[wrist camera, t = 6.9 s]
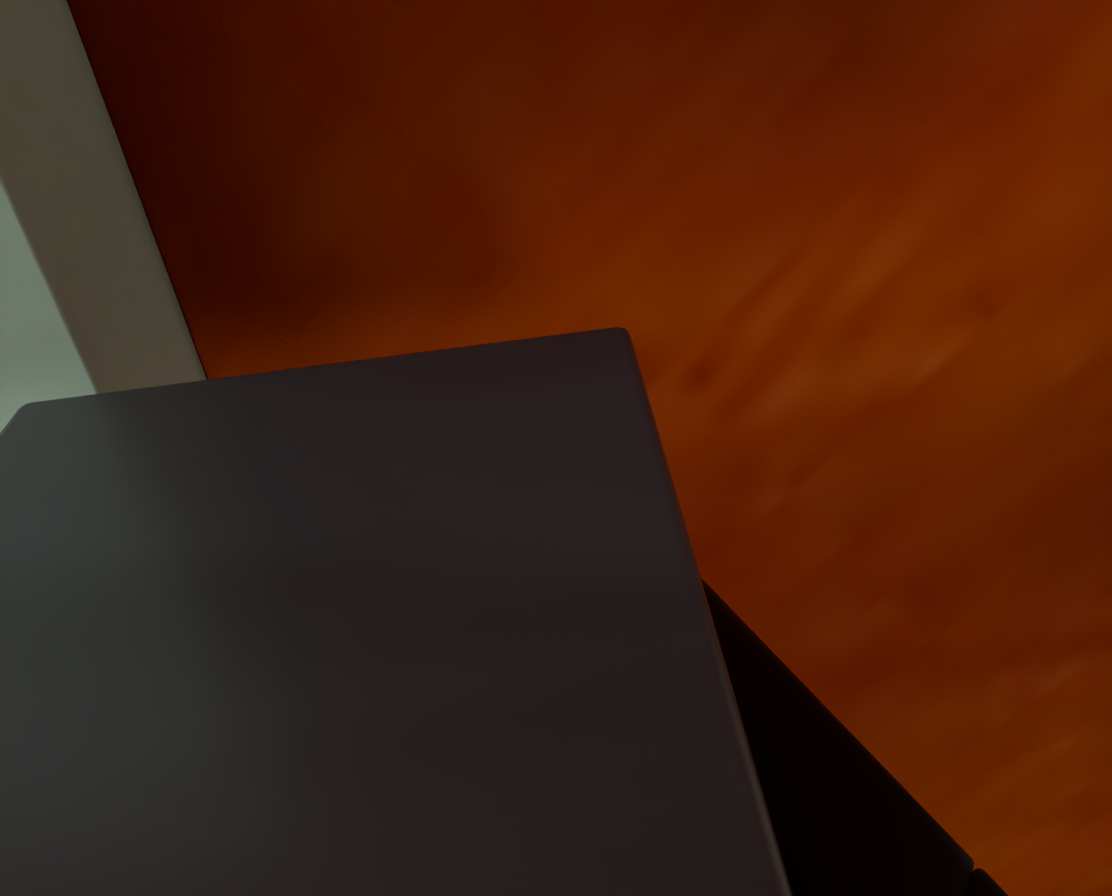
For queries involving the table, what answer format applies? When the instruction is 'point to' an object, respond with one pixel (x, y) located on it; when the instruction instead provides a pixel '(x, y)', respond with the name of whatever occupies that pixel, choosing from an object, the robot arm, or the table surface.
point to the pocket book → (73, 231)
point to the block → (366, 640)
